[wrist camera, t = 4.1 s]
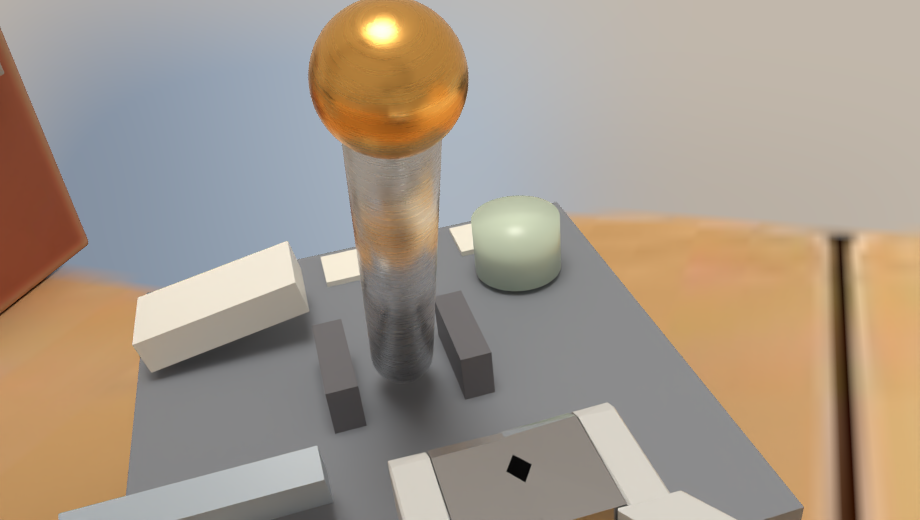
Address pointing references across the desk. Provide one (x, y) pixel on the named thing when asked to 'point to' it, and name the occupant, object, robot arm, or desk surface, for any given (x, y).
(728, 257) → the desk surface
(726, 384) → the desk surface
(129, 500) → the grey bar
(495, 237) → the button
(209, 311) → the block
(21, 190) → the orange box
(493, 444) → the robot arm
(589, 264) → the console
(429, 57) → the lever
